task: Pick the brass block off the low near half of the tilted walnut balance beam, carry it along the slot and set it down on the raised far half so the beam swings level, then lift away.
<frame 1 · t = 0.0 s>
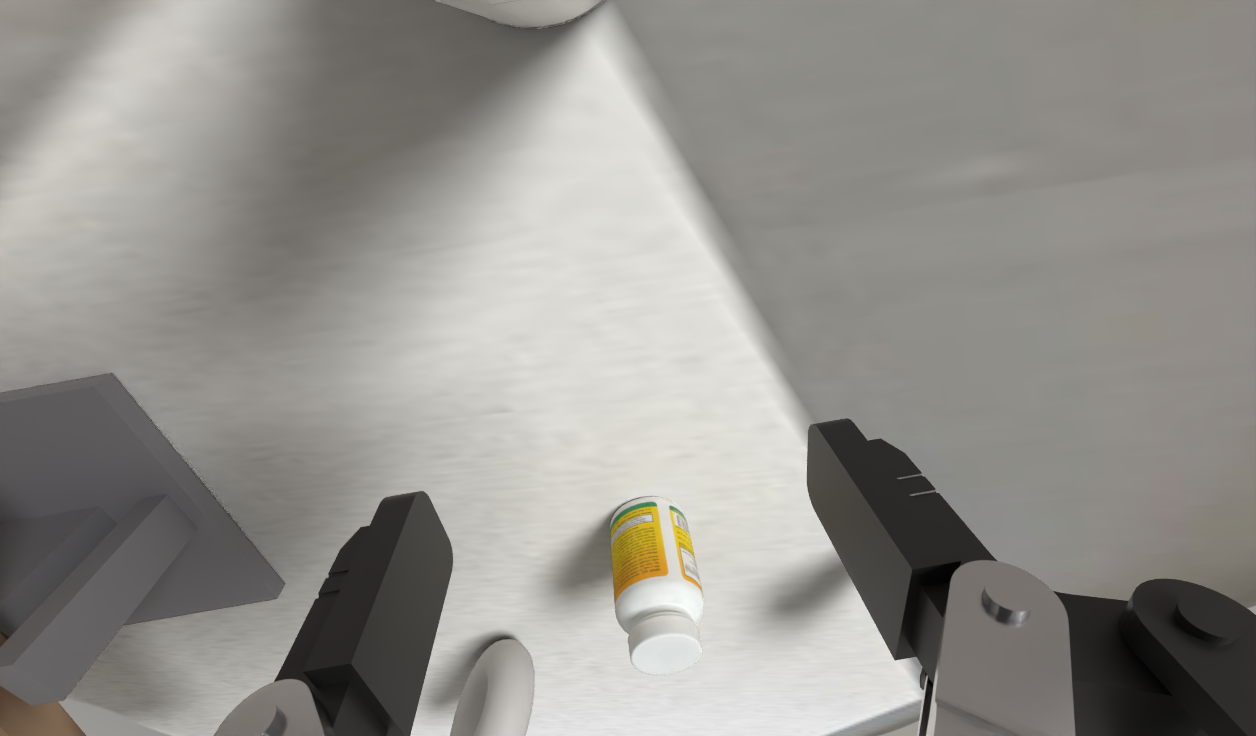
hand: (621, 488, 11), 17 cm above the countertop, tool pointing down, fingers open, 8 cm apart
supplement bottle: (646, 518, 37), on the countertop
pivot stand: (84, 516, 32), on the countertop
donut: (499, 644, 43), on the countertop
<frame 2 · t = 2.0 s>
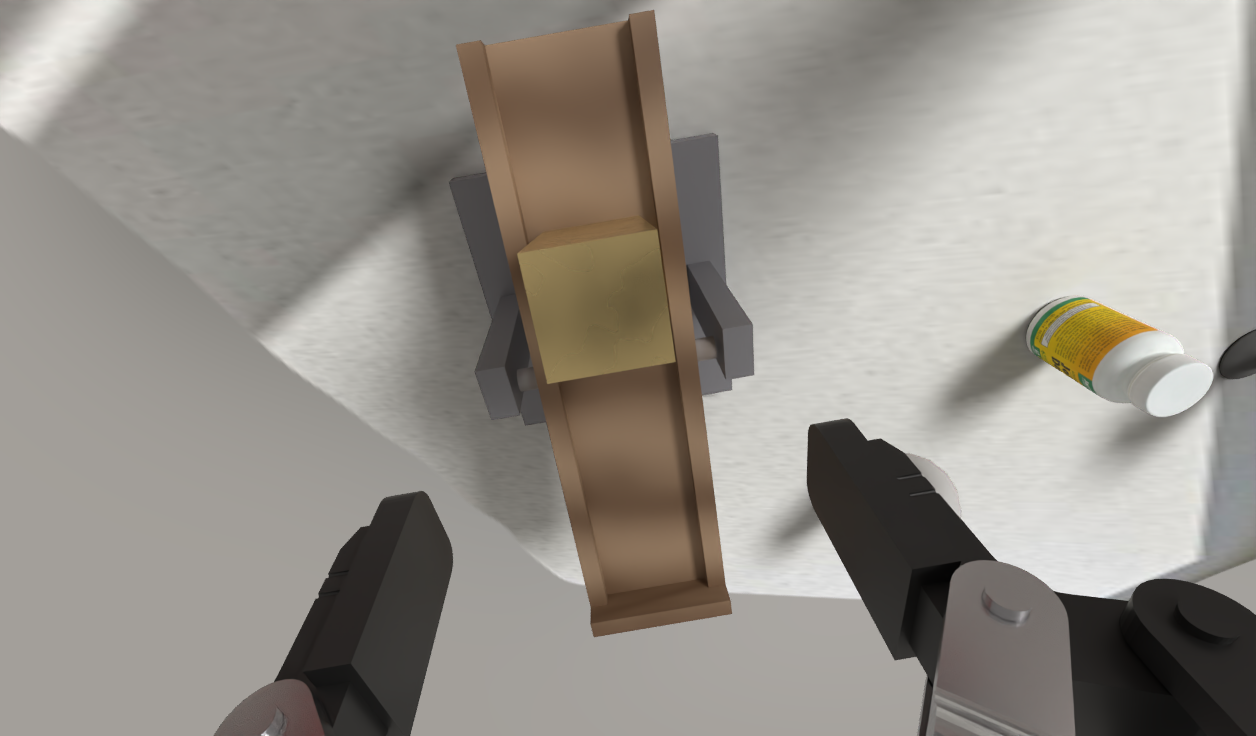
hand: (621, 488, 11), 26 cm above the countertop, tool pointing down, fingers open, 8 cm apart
supplement bottle: (1055, 324, 41), on the countertop
pivot stand: (607, 292, 36), on the countertop
donut: (865, 469, 47), on the countertop
rider: (599, 271, 25), point 10 cm above the countertop, tilted 11°, touching beam
sundae: (1248, 351, 43), on the countertop
beam: (617, 370, 26), point 11 cm above the countertop, hinge at -10.7°, touching rider
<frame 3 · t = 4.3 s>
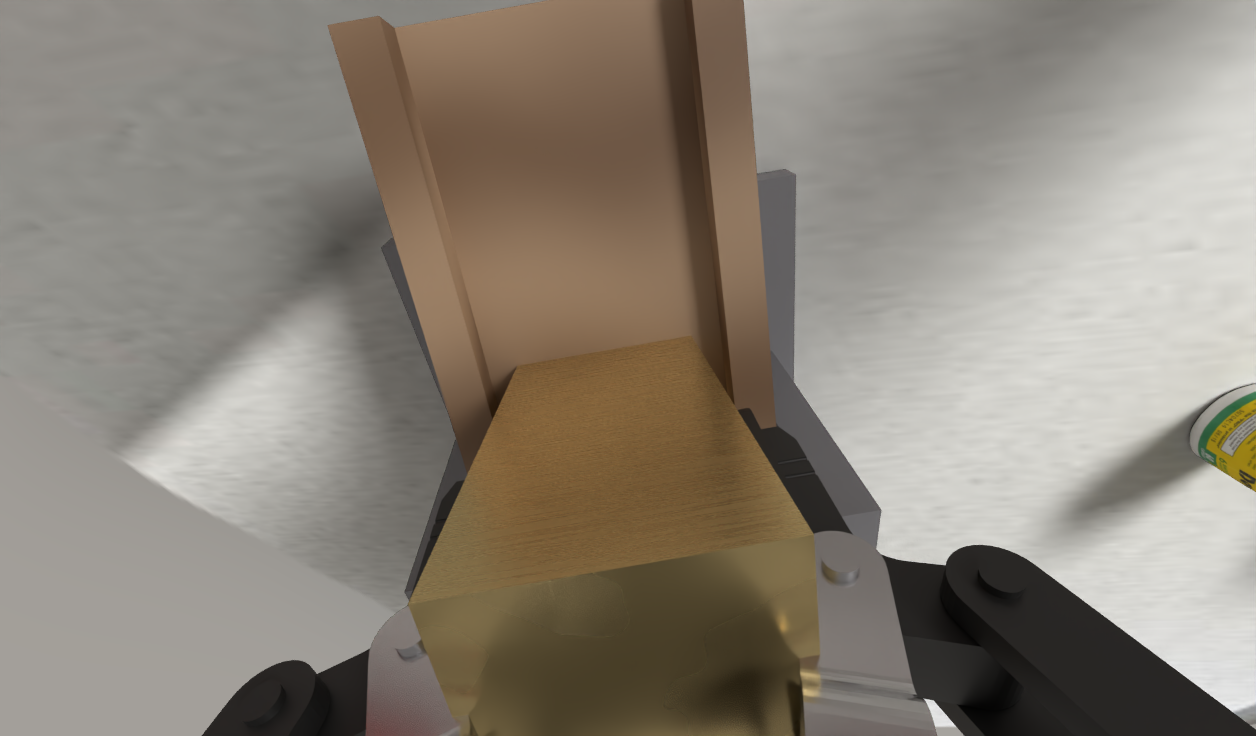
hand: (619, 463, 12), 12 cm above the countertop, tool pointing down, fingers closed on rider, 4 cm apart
supplement bottle: (1229, 416, 30), on the countertop
pivot stand: (622, 390, 25), on the countertop
rider: (619, 429, 14), point 10 cm above the countertop, tilted 11°, touching beam, gripper
beam: (648, 579, 16), point 11 cm above the countertop, hinge at -10.7°, touching rider
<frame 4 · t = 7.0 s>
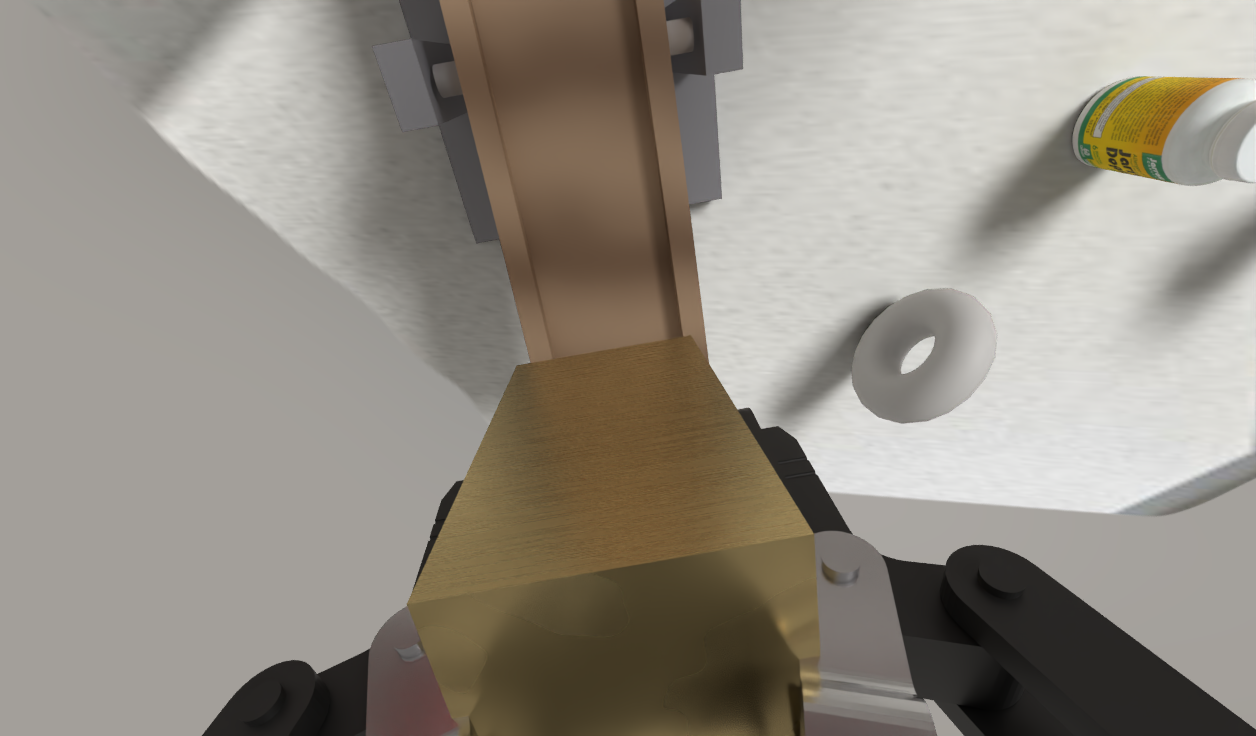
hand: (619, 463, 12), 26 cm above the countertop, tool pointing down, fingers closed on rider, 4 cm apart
supplement bottle: (1107, 122, 34), on the countertop
pivot stand: (568, 59, 30), on the countertop
donut: (879, 322, 40), on the countertop
rider: (618, 428, 14), point 23 cm above the countertop, tilted 11°, touching gripper
beam: (562, 52, 20), point 11 cm above the countertop, hinge at -10.7°
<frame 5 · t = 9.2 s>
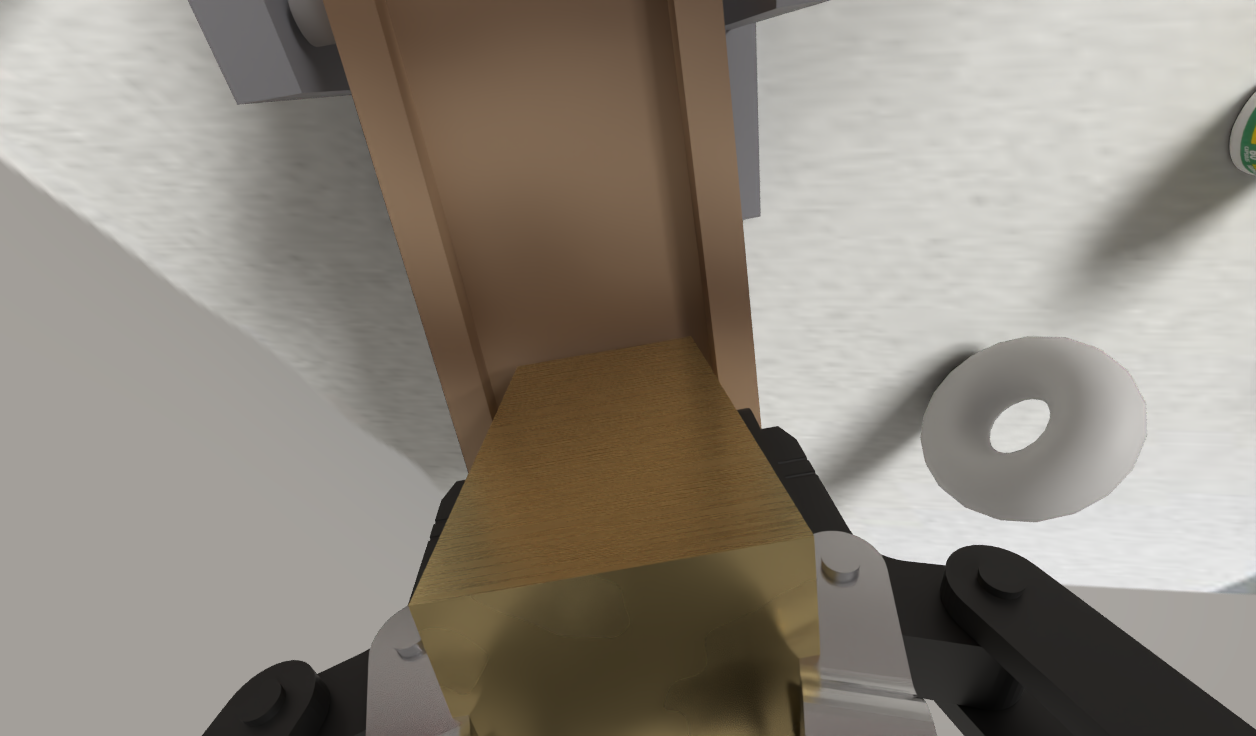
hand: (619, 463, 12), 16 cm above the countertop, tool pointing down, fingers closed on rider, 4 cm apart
pivot stand: (547, 18, 21), on the countertop
donut: (954, 374, 31), on the countertop
rider: (619, 429, 14), point 14 cm above the countertop, tilted 10°, touching gripper
when the fingers open (16 cm above the countertop, at t = 9.7 s): rider drops 3 cm, resting on beam.
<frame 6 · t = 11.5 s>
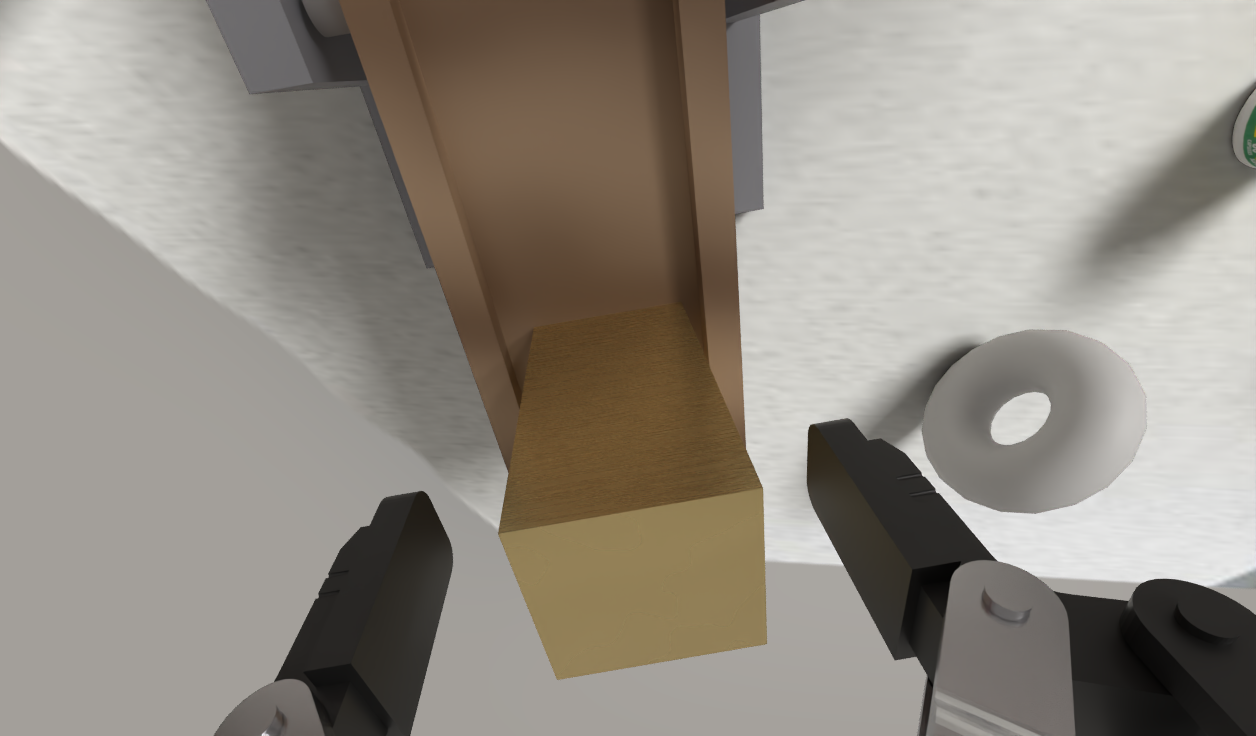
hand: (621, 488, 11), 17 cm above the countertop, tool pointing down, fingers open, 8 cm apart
pivot stand: (552, 10, 21), on the countertop
donut: (955, 368, 31), on the countertop
rider: (619, 377, 17), point 11 cm above the countertop, touching beam
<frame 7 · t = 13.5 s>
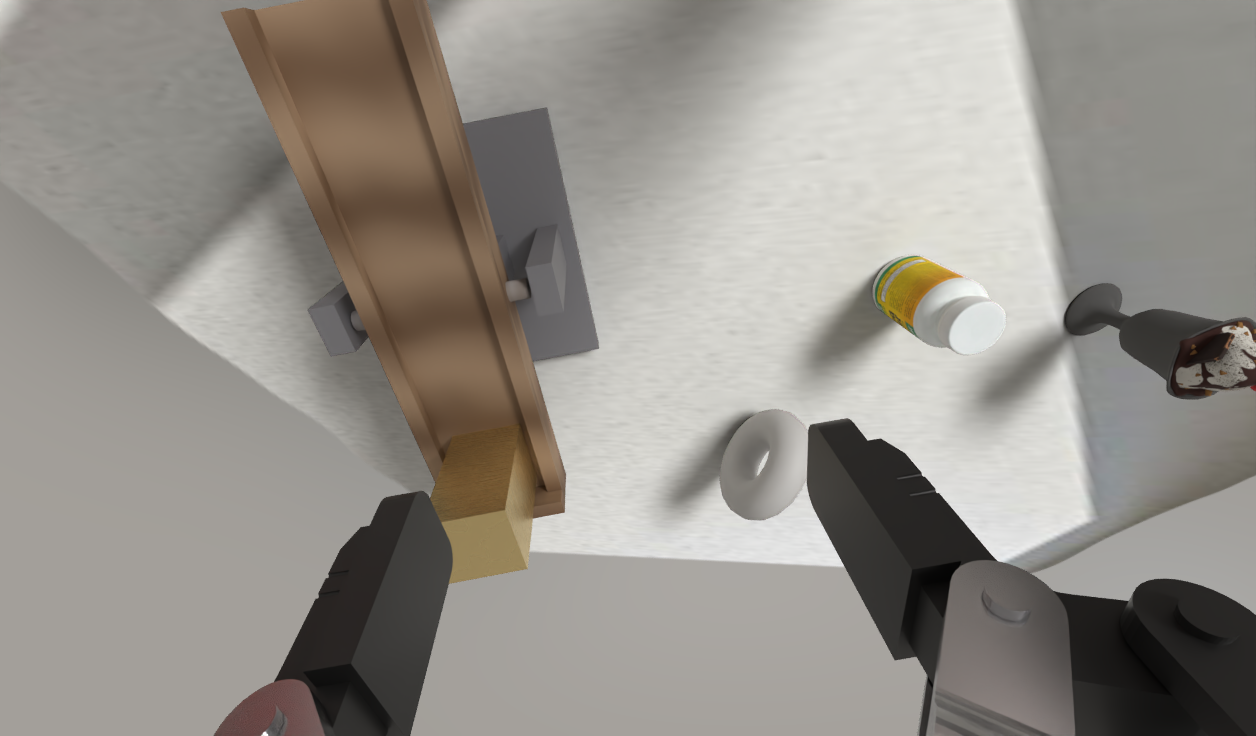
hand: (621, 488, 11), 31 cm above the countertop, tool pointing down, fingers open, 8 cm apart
supplement bottle: (899, 283, 44), on the countertop
pivot stand: (472, 257, 40), on the countertop
donut: (745, 429, 50), on the countertop
rider: (496, 456, 35), point 11 cm above the countertop, touching beam
sundae: (1091, 308, 47), on the countertop
beam: (438, 310, 30), point 11 cm above the countertop, hinge at 0.2°, touching rider
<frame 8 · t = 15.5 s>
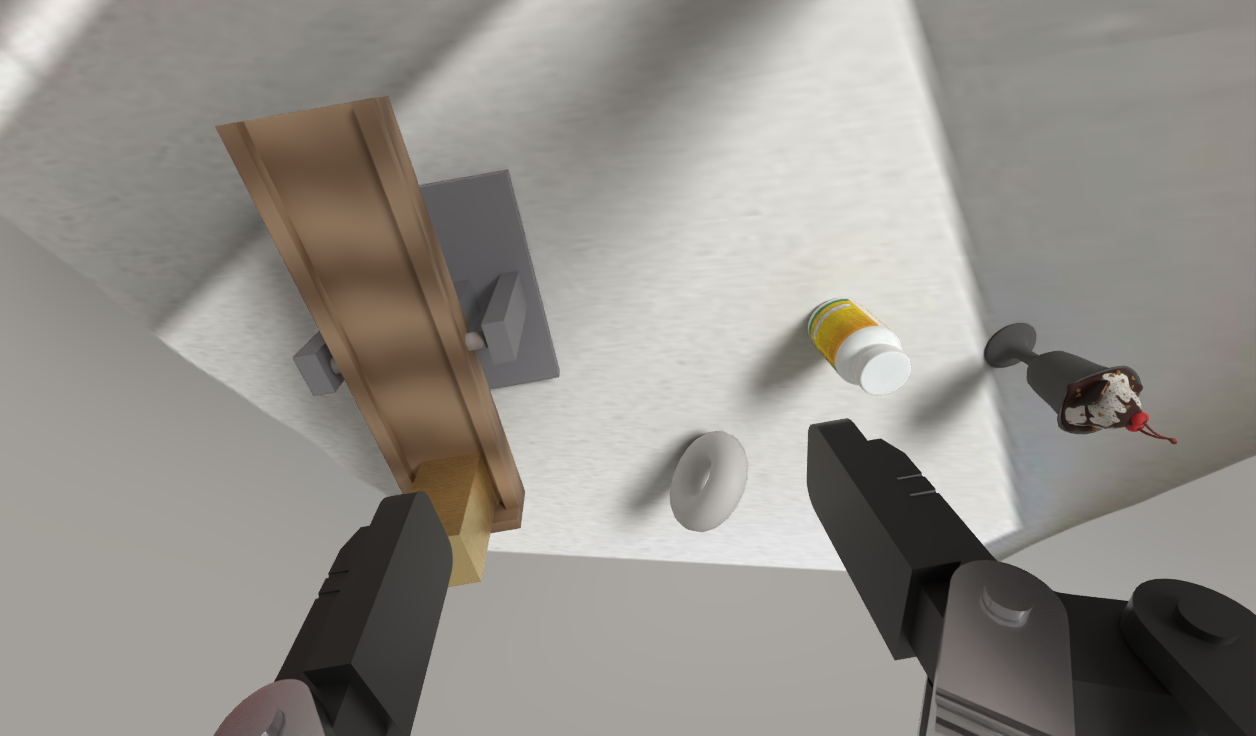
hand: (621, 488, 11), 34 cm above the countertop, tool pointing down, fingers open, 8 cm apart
supplement bottle: (832, 321, 48), on the countertop
pivot stand: (443, 296, 44), on the countertop
donut: (696, 446, 55), on the countertop
rider: (460, 478, 40), point 11 cm above the countertop, touching beam
sundae: (1009, 344, 51), on the countertop
beam: (406, 359, 34), point 11 cm above the countertop, hinge at 0.2°, touching rider
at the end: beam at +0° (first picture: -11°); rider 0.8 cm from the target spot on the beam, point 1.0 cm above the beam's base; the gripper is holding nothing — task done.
